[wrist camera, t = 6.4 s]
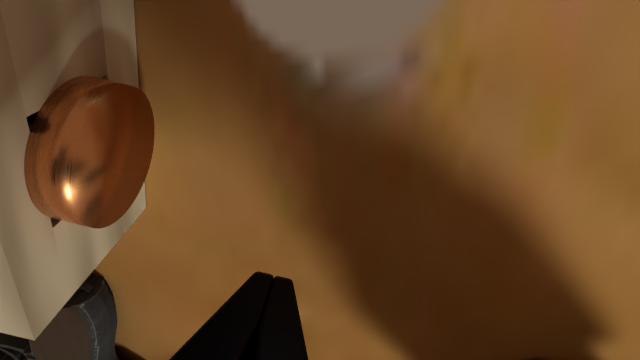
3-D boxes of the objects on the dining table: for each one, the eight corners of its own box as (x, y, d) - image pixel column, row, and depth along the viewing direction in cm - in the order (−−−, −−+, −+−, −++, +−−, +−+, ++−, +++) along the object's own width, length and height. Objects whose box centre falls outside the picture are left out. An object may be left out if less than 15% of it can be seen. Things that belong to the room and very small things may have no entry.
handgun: (-210, 274, 22) (-87, 403, 27) (76, 301, 18) (147, 442, 24) (-146, 241, 24) (-46, 366, 30) (115, 259, 21) (171, 396, 26)
